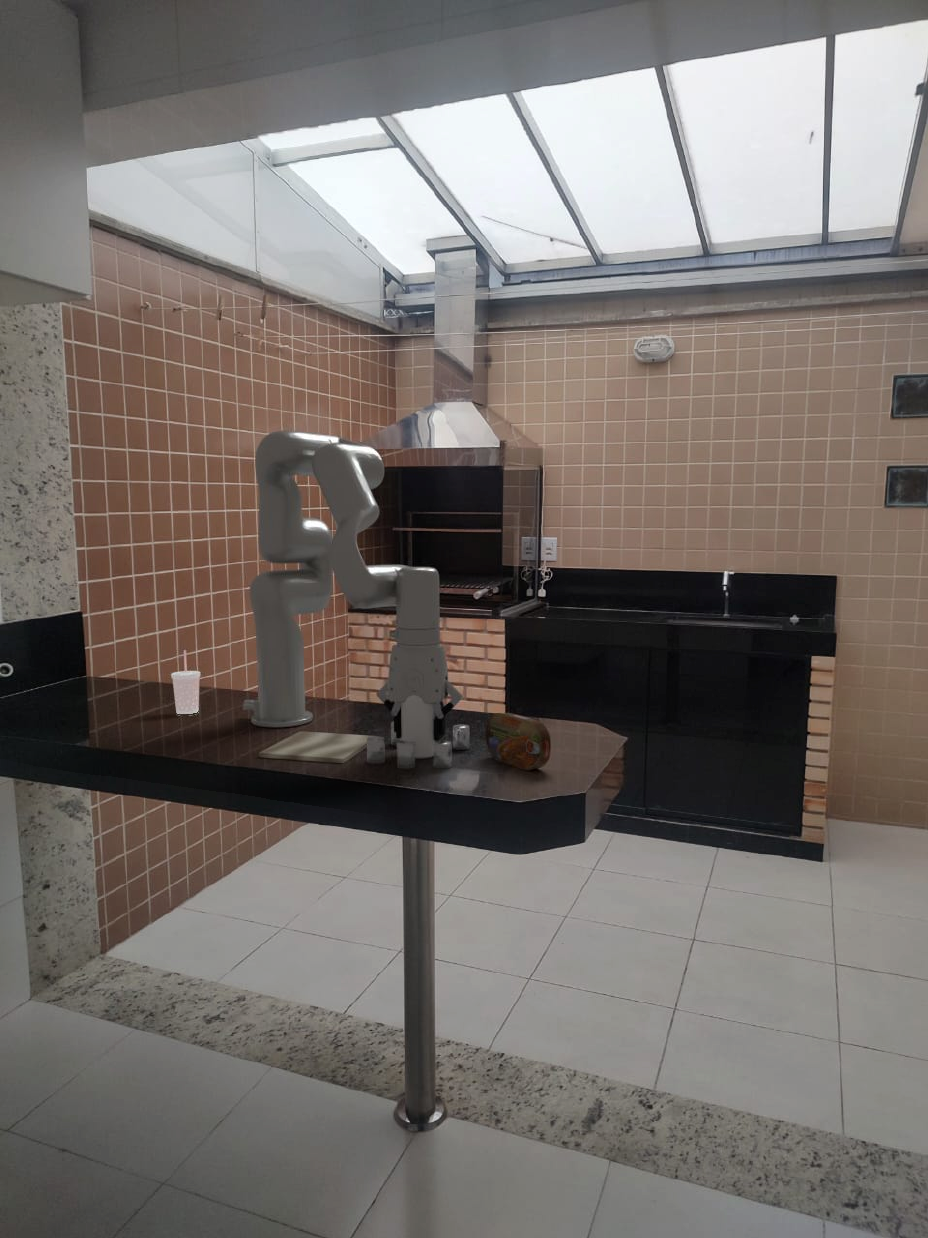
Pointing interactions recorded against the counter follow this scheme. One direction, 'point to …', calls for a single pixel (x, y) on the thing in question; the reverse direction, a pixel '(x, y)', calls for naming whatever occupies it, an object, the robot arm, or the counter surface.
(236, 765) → the counter surface
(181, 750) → the counter surface
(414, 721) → the can
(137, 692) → the counter surface
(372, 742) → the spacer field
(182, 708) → the beverage cup
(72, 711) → the counter surface
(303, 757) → the board
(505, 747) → the tin
